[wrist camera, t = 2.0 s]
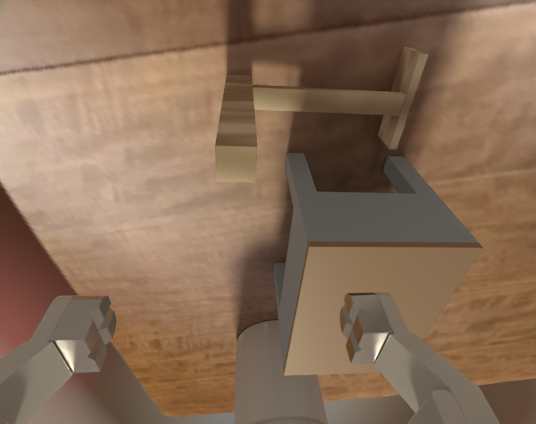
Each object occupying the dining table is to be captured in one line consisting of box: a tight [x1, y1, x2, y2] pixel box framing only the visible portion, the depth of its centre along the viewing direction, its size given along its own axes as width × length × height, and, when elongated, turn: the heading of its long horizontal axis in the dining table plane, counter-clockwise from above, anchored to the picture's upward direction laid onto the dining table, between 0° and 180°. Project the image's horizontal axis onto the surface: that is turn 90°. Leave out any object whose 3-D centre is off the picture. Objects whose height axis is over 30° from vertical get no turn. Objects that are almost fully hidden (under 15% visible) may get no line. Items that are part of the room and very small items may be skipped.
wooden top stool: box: [274, 153, 483, 376], centre depth 37 cm, size 20×14×16 cm
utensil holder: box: [235, 320, 328, 424], centre depth 53 cm, size 15×15×18 cm
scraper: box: [215, 47, 428, 183], centre depth 26 cm, size 9×18×16 cm, turn 86°
